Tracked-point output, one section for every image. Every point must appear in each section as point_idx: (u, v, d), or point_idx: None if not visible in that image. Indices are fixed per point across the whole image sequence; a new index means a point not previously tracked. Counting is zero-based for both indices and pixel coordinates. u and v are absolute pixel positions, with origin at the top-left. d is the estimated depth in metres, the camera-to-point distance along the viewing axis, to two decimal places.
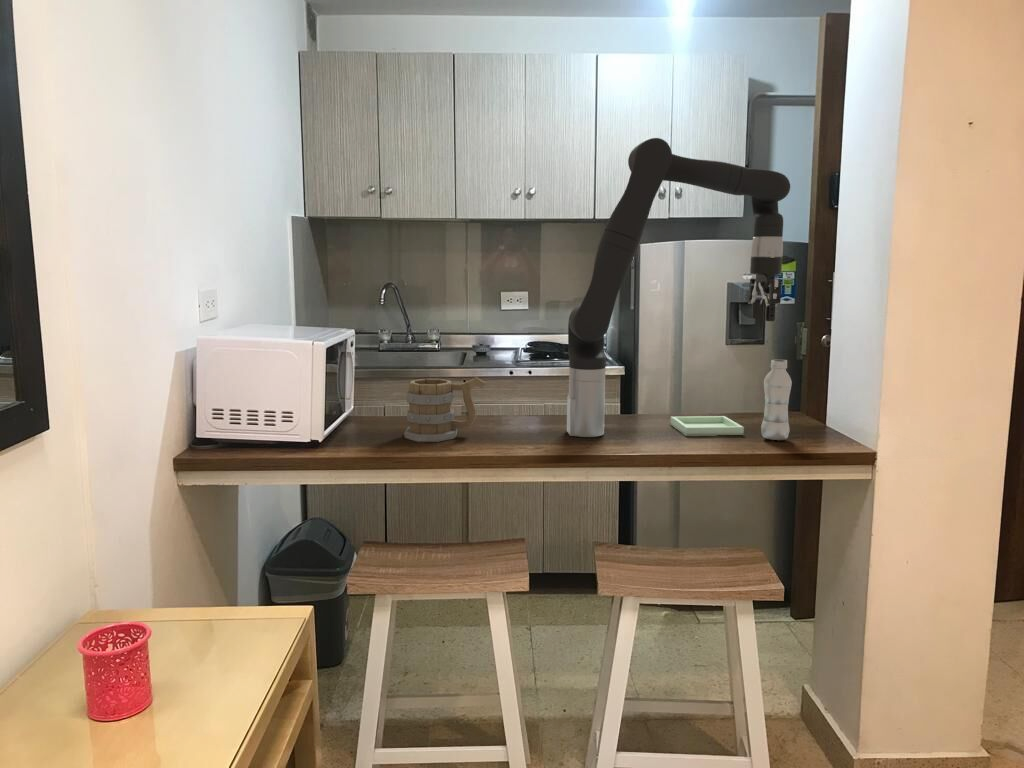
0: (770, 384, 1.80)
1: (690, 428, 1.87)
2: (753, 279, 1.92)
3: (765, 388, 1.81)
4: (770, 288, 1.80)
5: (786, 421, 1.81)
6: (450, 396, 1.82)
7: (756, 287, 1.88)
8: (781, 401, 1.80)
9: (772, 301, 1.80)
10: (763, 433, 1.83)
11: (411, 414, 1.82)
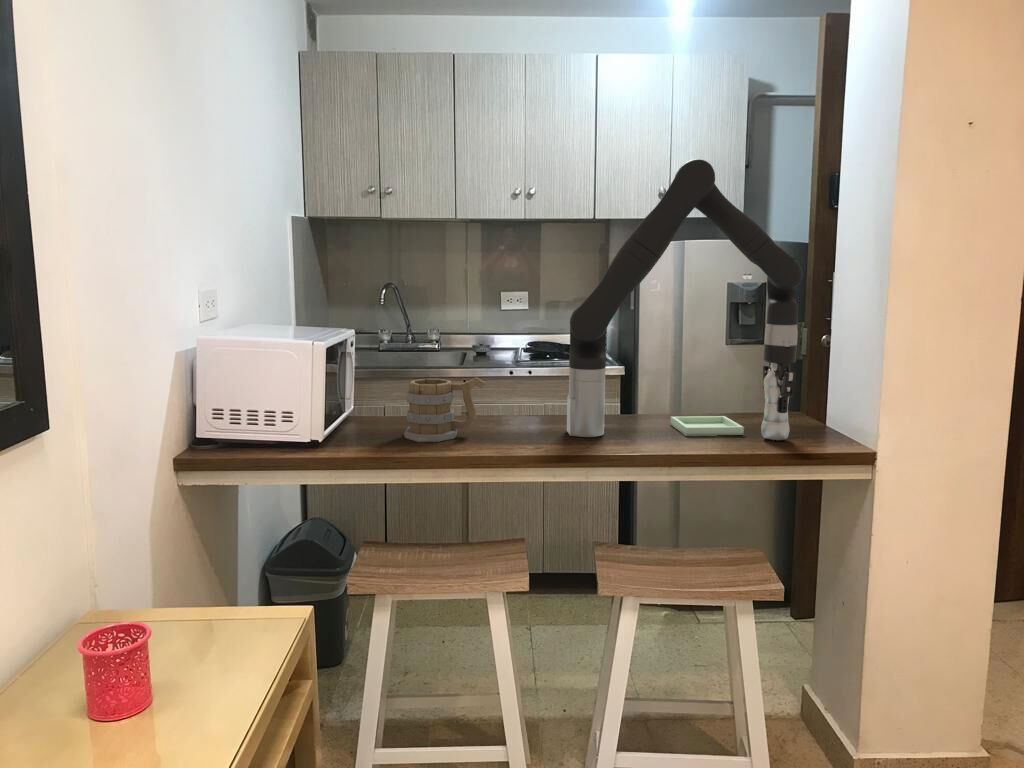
0: (770, 384, 1.80)
1: (690, 428, 1.87)
2: (766, 366, 1.87)
3: (765, 388, 1.81)
4: (784, 382, 1.75)
5: (786, 421, 1.81)
6: (450, 396, 1.82)
7: None
8: None
9: (785, 395, 1.76)
10: (763, 433, 1.83)
11: (411, 414, 1.82)
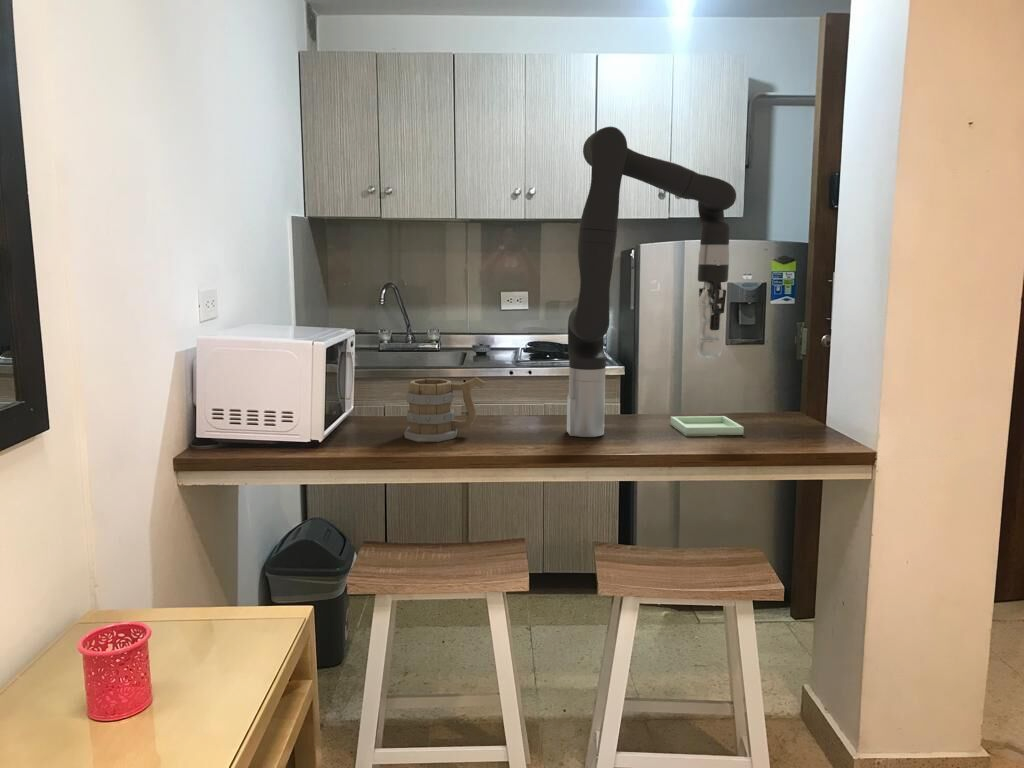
0: (703, 302, 1.88)
1: (690, 428, 1.87)
2: (702, 288, 1.94)
3: (699, 307, 1.89)
4: (715, 298, 1.83)
5: (719, 339, 1.89)
6: (450, 396, 1.82)
7: None
8: None
9: (716, 311, 1.84)
10: (697, 351, 1.91)
11: (411, 414, 1.82)
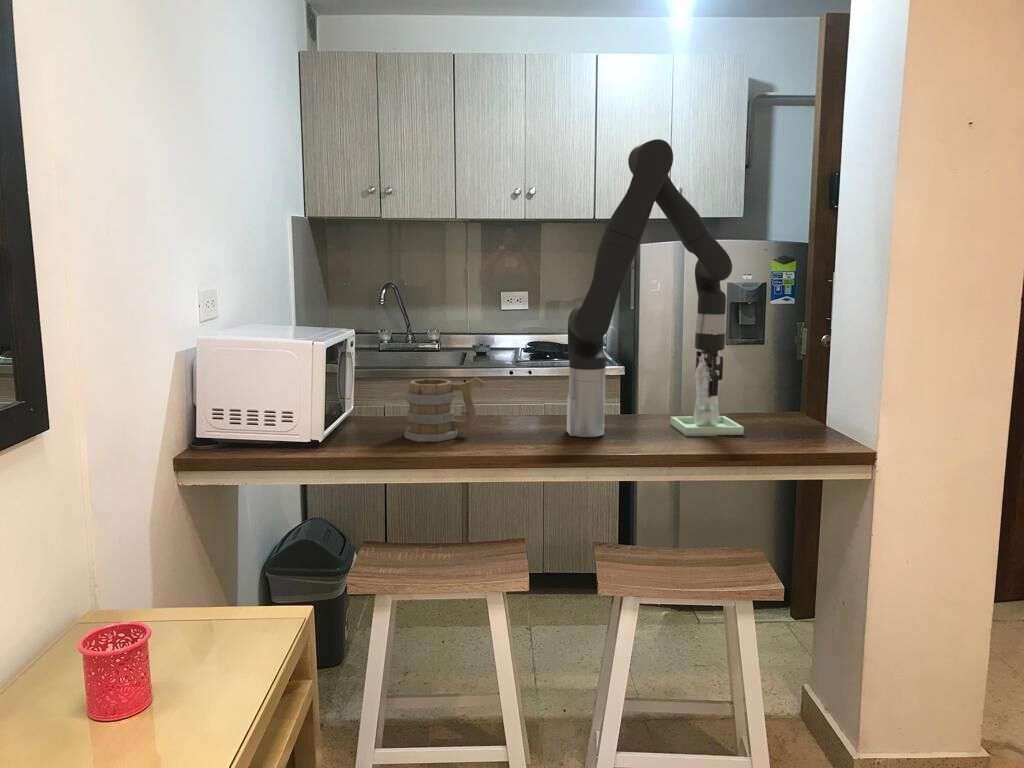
0: (700, 374, 1.90)
1: (690, 428, 1.87)
2: (699, 352, 1.97)
3: (696, 379, 1.92)
4: (712, 365, 1.85)
5: (716, 410, 1.92)
6: (450, 396, 1.82)
7: (701, 361, 1.93)
8: None
9: (714, 378, 1.85)
10: (695, 421, 1.93)
11: (411, 414, 1.82)
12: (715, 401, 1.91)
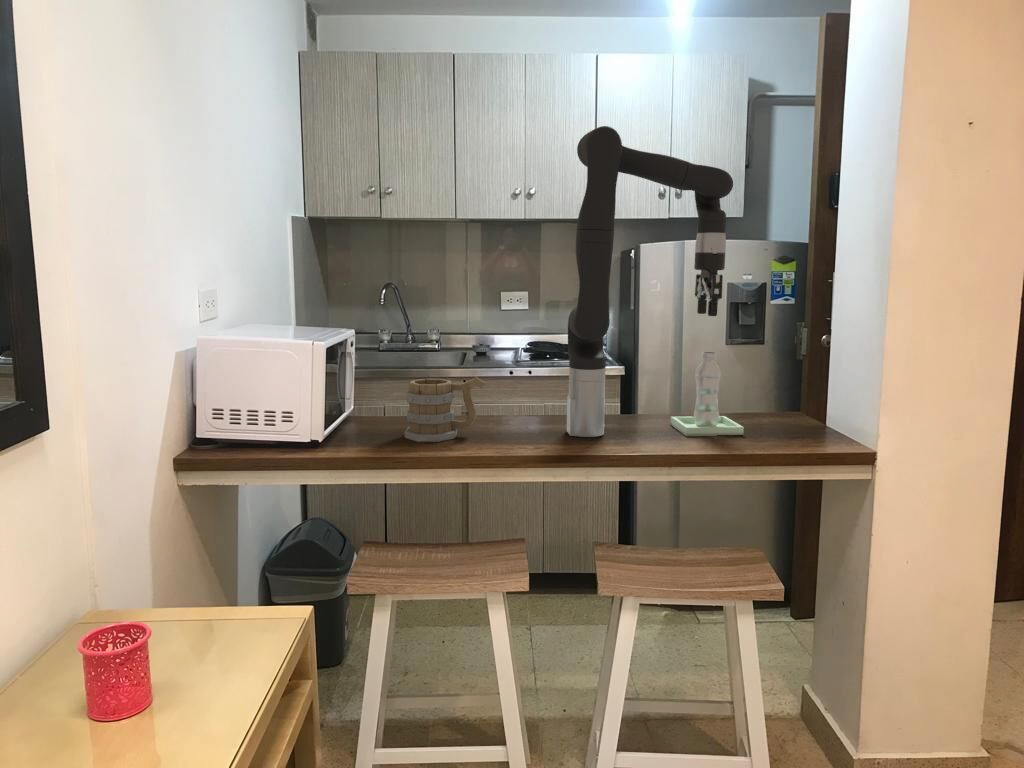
0: (700, 374, 1.90)
1: (690, 428, 1.87)
2: (699, 275, 1.95)
3: (696, 379, 1.92)
4: (712, 284, 1.83)
5: (716, 410, 1.92)
6: (450, 396, 1.82)
7: (700, 282, 1.91)
8: (710, 391, 1.90)
9: (713, 296, 1.83)
10: (695, 421, 1.93)
11: (411, 414, 1.82)
12: (715, 401, 1.91)
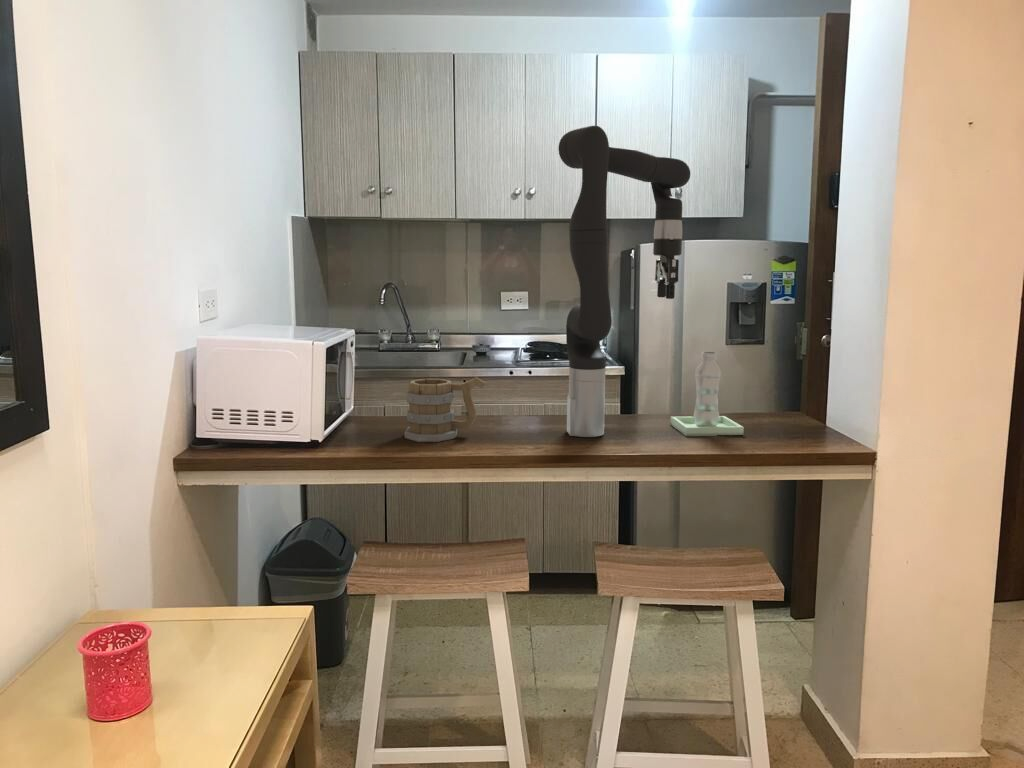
0: (700, 374, 1.90)
1: (690, 428, 1.87)
2: (658, 260, 2.05)
3: (696, 379, 1.92)
4: (669, 268, 1.94)
5: (716, 410, 1.92)
6: (450, 396, 1.82)
7: (659, 267, 2.01)
8: (710, 391, 1.90)
9: (670, 280, 1.94)
10: (695, 421, 1.93)
11: (411, 414, 1.82)
12: (715, 401, 1.91)
